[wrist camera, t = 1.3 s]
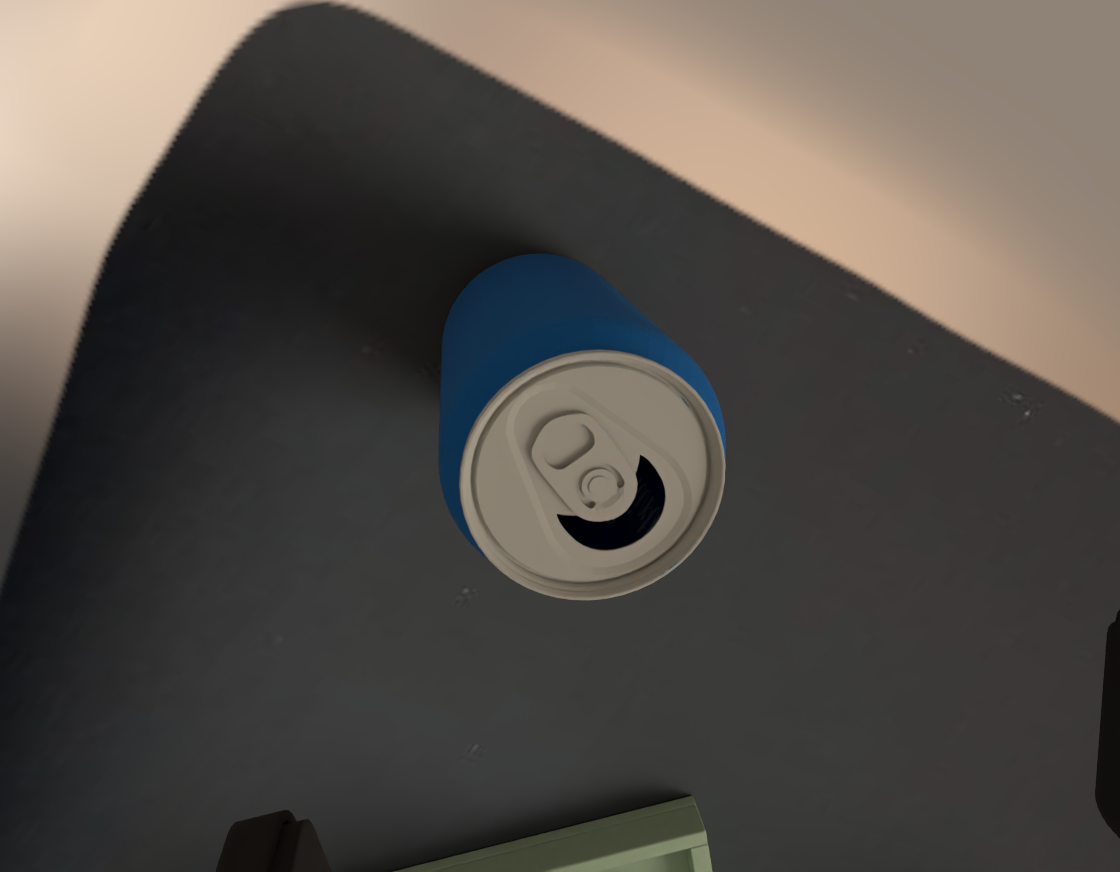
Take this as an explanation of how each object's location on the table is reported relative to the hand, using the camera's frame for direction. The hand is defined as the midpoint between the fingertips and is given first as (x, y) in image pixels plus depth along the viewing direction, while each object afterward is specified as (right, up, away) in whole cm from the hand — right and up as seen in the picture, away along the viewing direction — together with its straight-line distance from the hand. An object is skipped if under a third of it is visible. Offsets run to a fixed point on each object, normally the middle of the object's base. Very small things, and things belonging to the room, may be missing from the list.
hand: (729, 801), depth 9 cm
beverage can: (-3, +7, +19) cm, 20 cm away
